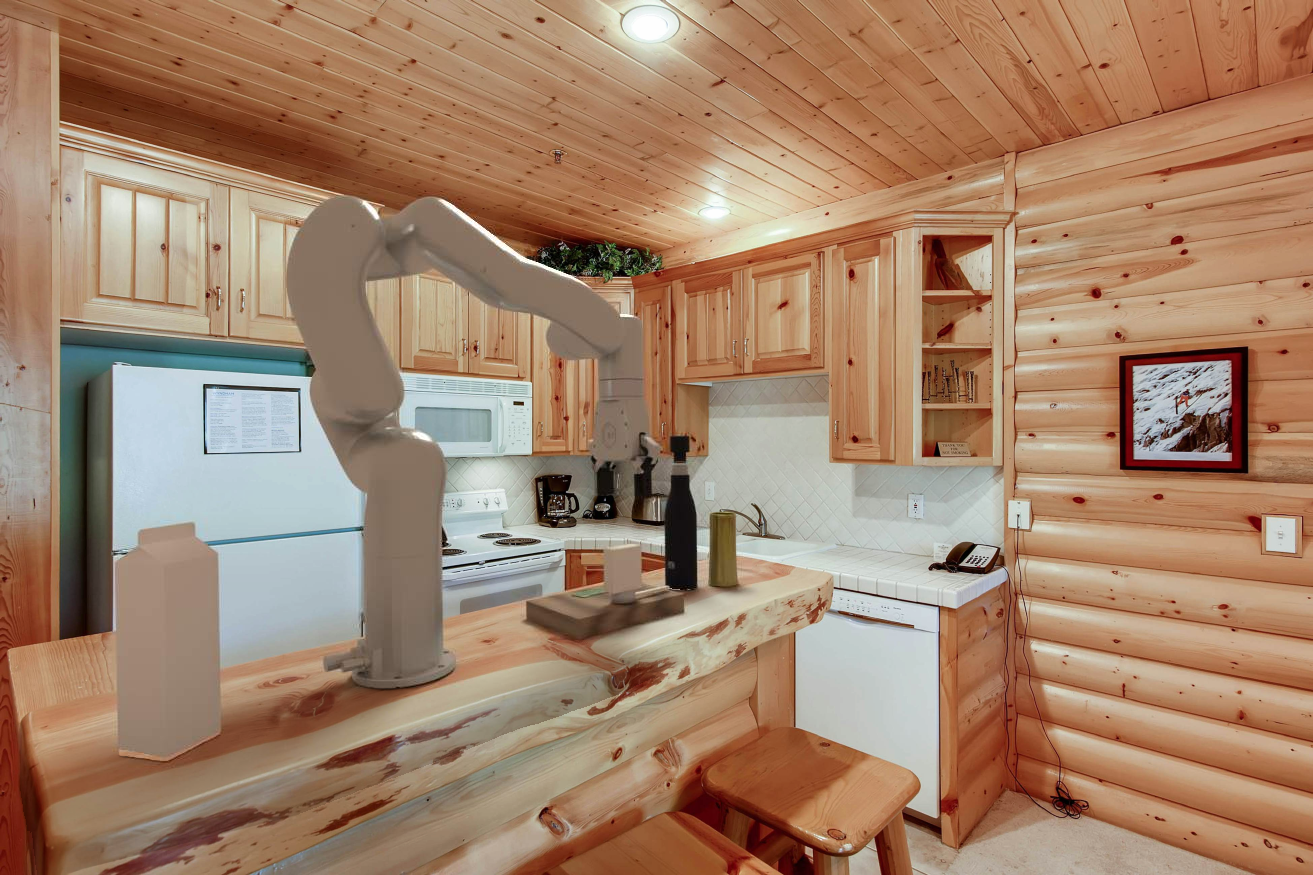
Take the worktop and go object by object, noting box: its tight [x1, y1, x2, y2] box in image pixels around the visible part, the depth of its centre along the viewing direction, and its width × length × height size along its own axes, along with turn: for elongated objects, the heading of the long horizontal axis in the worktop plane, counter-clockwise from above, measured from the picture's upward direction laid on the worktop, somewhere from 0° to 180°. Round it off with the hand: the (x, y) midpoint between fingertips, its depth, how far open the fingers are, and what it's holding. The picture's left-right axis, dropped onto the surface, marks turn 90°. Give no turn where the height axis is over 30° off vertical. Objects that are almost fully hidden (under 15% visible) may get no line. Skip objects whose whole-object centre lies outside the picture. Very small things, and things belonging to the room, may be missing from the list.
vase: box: [707, 511, 739, 588], centre depth 132 cm, size 6×6×14 cm
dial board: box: [525, 582, 685, 640], centre depth 111 cm, size 22×15×3 cm
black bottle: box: [663, 435, 698, 591], centre depth 130 cm, size 6×6×30 cm
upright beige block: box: [603, 543, 670, 604], centre depth 110 cm, size 13×4×9 cm, turn 132°
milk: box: [114, 521, 222, 758], centre depth 65 cm, size 6×6×22 cm
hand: (623, 496), depth 107 cm, fingers open, 9 cm apart
